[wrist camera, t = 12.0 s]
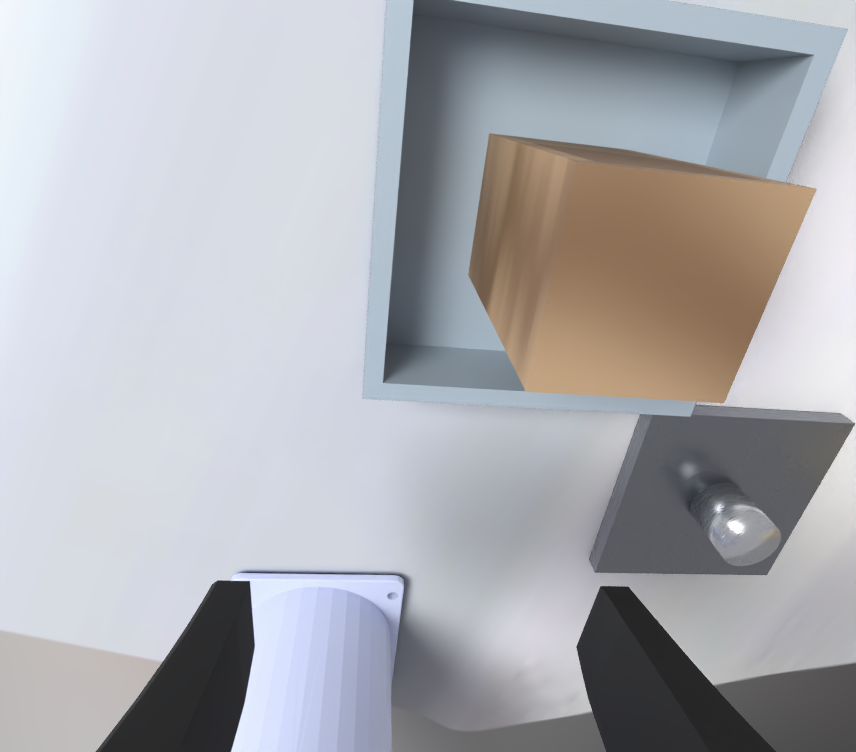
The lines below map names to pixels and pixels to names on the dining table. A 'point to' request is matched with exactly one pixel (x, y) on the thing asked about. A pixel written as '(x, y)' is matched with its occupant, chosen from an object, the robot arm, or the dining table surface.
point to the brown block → (626, 266)
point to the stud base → (704, 459)
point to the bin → (557, 121)
